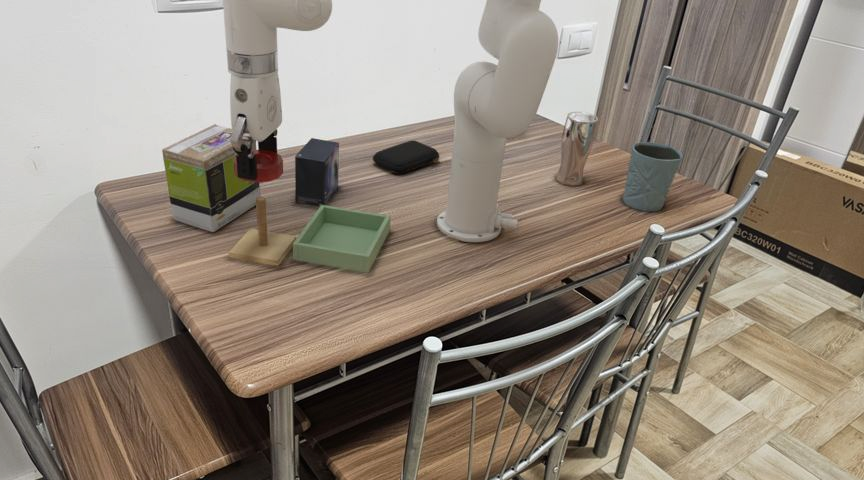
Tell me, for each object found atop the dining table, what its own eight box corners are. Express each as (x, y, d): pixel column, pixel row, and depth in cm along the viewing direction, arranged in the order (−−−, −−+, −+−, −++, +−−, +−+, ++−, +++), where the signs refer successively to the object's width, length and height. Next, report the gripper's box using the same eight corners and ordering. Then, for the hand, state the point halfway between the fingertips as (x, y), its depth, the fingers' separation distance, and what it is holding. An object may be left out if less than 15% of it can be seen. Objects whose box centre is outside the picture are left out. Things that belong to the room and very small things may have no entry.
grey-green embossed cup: (610, 200, 148) (624, 148, 142) (632, 187, 155) (646, 137, 148) (654, 217, 143) (670, 164, 136) (675, 203, 149) (691, 151, 143)
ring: (289, 166, 116) (289, 153, 115) (272, 185, 110) (271, 171, 108) (246, 160, 117) (245, 147, 116) (226, 178, 111) (225, 164, 110)
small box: (325, 209, 137) (325, 160, 131) (294, 205, 138) (292, 156, 132) (340, 187, 145) (340, 141, 140) (310, 183, 146) (310, 136, 141)
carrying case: (402, 179, 151) (445, 162, 160) (403, 166, 149) (446, 150, 158) (368, 164, 157) (412, 148, 166) (369, 151, 155) (413, 136, 164)
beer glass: (551, 182, 154) (563, 118, 146) (557, 171, 160) (569, 109, 152) (581, 189, 152) (596, 124, 144) (587, 177, 158) (601, 114, 150)
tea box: (221, 191, 141) (215, 122, 133) (262, 203, 137) (258, 133, 129) (170, 220, 129) (160, 146, 121) (213, 234, 126) (205, 159, 118)
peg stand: (296, 243, 125) (295, 191, 119) (278, 268, 118) (275, 213, 112) (250, 235, 126) (246, 183, 121) (229, 259, 119) (224, 205, 113)
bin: (389, 232, 130) (390, 215, 128) (368, 275, 118) (368, 256, 116) (321, 221, 132) (321, 204, 130) (293, 261, 120) (292, 243, 118)
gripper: (252, 80, 96) (258, 193, 105) (296, 50, 110) (297, 152, 120) (203, 73, 97) (213, 186, 107) (252, 44, 111) (257, 146, 121)
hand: (258, 167), depth 113 cm, fingers closed on ring, 7 cm apart
